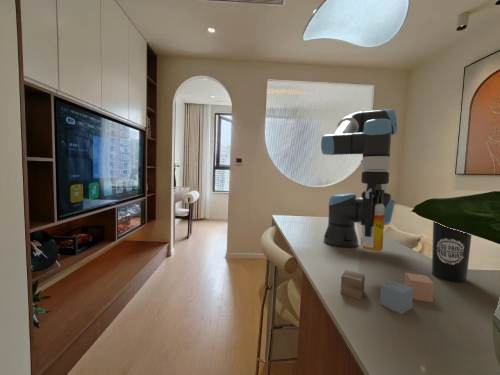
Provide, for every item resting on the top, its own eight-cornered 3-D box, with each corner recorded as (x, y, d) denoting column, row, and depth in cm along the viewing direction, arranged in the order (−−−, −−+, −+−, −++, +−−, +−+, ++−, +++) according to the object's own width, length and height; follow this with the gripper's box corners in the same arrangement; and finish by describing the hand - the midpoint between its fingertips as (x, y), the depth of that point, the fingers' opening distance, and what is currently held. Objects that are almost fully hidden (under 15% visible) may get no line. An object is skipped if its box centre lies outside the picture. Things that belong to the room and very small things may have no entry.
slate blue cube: (390, 298, 61) (391, 280, 61) (412, 308, 57) (413, 288, 57) (379, 304, 59) (380, 284, 58) (401, 314, 54) (402, 293, 54)
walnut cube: (344, 286, 68) (345, 269, 67) (364, 292, 65) (364, 274, 64) (340, 294, 63) (341, 275, 63) (361, 299, 61) (361, 280, 60)
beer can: (385, 254, 71) (387, 204, 70) (363, 252, 72) (365, 204, 71) (378, 247, 77) (380, 202, 76) (358, 246, 78) (360, 201, 77)
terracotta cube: (404, 290, 66) (405, 272, 66) (425, 293, 65) (426, 275, 64) (409, 298, 62) (410, 280, 61) (432, 302, 60) (434, 283, 60)
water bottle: (426, 276, 75) (431, 205, 74) (430, 267, 83) (434, 202, 82) (470, 287, 68) (475, 208, 67) (470, 276, 76) (475, 205, 75)
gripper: (371, 170, 83) (368, 235, 84) (351, 170, 69) (348, 248, 70) (396, 171, 77) (392, 240, 79) (379, 170, 64) (375, 254, 65)
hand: (371, 243), depth 75 cm, fingers closed on beer can, 6 cm apart
